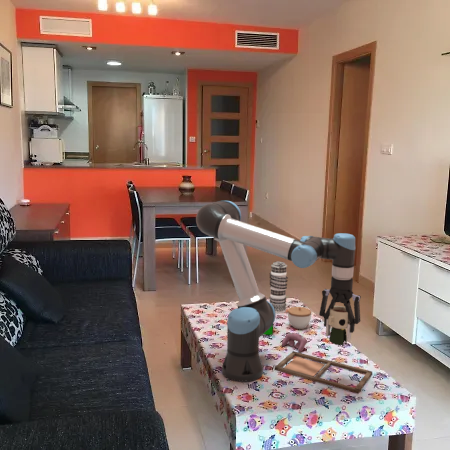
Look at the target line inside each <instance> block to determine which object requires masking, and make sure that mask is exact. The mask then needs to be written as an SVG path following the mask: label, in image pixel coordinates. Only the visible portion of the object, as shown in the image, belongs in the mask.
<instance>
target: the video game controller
mask: <svg viewBox="0 0 450 450" xmlns="http://www.w3.org/2000/svg"><path fill="white" fill-rule="evenodd" d="M287 344H288V345H289V346H290V347H295V348H297V351H298V353H303V350H304V349H305V346H306V345H307V344H308V340H307V338H306V337H305V336H303V335H302V334H299V333H295V332H288V334H286V335H285V337H284V338H283V340H282V341H281V347H282V348H283V347H285V346H286V345H287Z"/></svg>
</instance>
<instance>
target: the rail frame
mask: <svg viewBox="0 0 450 450" xmlns="http://www.w3.org/2000/svg"><path fill="white" fill-rule="evenodd" d="M331 366H333V367H337V368H341V369H344V370H348V371H352V372H357V373H360V374H364V376H363V377H362V379H360V380H359V382H358V384H357V385H356V386H355V387H354V386H351V385H346V384H344V383H340V382H336V381H333V380H329V379H325V378H322V377H321V376H323V374H325V372H326V371H327V370H328V369H329V367H331ZM273 370H275V371H277V372H282V373H285V374H288V375H293V376H295V377H299V378H303V379H306V380H309V381H313V382H316V383H319V384H323V385H327V386H330V387H334V388H337V389H342V390H345V391H349V392H351V393H355V394H359V393H360V392H361V390H362V389H363V387H364V386H365V385H366V384H367V382H368V381H369V379H370V378H371V376H372V375H373V371H372V370H368V369H364V368H360V367H356V366H352V365H349V364H345V363H340V362H337V361H333V360H329V359H326V358H325V359H324V358H323V357H322V358H321V357H317V356H313V355H309V354H305V353H303V352H299V351H298V352H297V351H292V352H291V353H289V354H288V355H287V356H286V357H285V358H284V359H282V360H281V361H280V362H279V363H278V364H276V365H275V366H274V369H273Z"/></svg>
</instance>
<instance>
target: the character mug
mask: <svg viewBox="0 0 450 450" xmlns="http://www.w3.org/2000/svg"><path fill="white" fill-rule="evenodd" d="M348 323H349V318H348V312H346V308H345V306H340V305H335V306H334V307H333V309H330V316H329V320H328V324H329V325H330V326H331V329H330V335H329V339H328V340H329V342H330V343H332V344H334V345H336V346H344V344H345V345H347V343H348V342H347V327H348Z"/></svg>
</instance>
